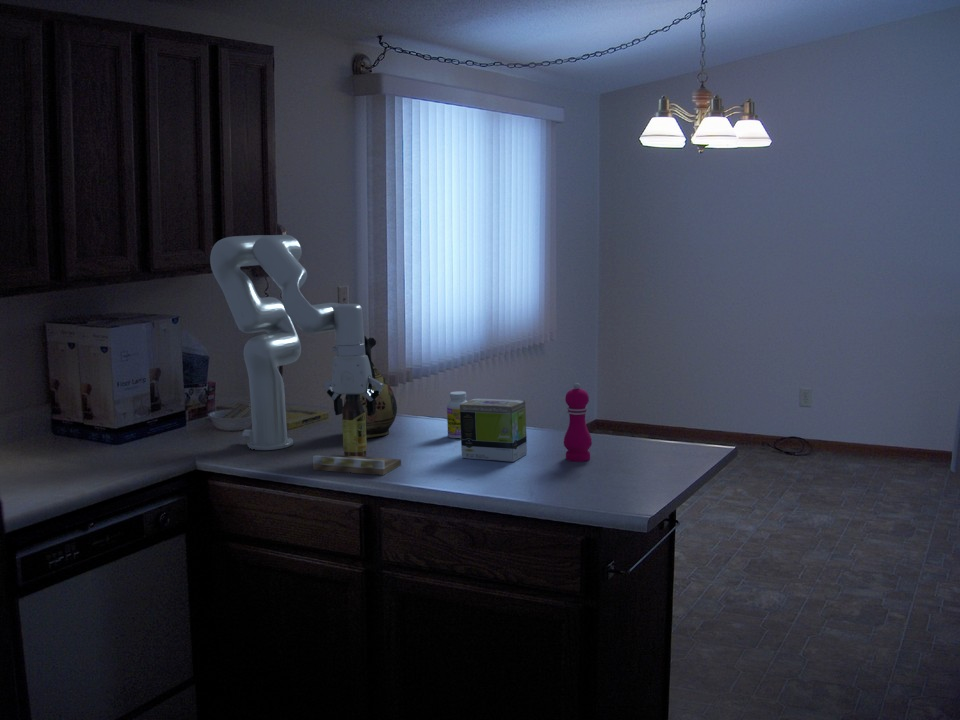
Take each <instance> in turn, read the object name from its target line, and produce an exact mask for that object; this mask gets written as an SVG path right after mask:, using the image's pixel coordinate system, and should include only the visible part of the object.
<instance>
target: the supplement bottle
mask: <svg viewBox="0 0 960 720" xmlns="http://www.w3.org/2000/svg"><path fill="white" fill-rule="evenodd" d="M449 398H450V400H449V401H448V402H447V404H446V420H447V421H446V423H447V424H446V425H447V436H448V437H449V438H451V439H455V438H461V425H460V404H463V403H465V402H468V401H469V400H467V399H466V398H467V392H466V391H463V390H462V391H459V390H458V391H451V392H450V393H449Z"/></svg>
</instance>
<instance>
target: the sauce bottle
mask: <svg viewBox="0 0 960 720" xmlns="http://www.w3.org/2000/svg"><path fill="white" fill-rule="evenodd" d="M345 395H346V402H345V404H344V403H343V408H342V414H341V415H342V418H341V421H342V422H341V424H342V426H341V428H342V429H341V430H342V448H343V450H342V451H343V455H345V456H359V457H367V450H368V447H367V446H368V445H367V438H366V416H365V410H364V408H363V405H362V403H361V400H360V395H353V394H345Z"/></svg>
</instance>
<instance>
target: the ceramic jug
mask: <svg viewBox="0 0 960 720" xmlns="http://www.w3.org/2000/svg"><path fill="white" fill-rule="evenodd" d="M364 341H365V355H367V356H368V359H369V362H370V367H371V373H372V378H374V379H376V380H377V381H379V382H381V383H383V388H382V390H381V393H380V395H379V396H378V397H377V399H375V403H376V412H375V414H374V415H372V416H368V415H367V401H368V399H367V397H366V396H365V395H364V394H360V400H361V403H362V405H363V408H364V410H365V416H366V439H369V438H375V437H382V436H387V435H389V434H390V428H391V427H392V426H393V423H394V422H395V420H396V417H397V413H398V405H397V400H396V398H395V394H394V391H393V389H392V388H391V386H390V384H389V383H388V381H387V380H386V379H385V377H384V376H383V374H382V373H381V372H380V371H379V369H377V367H376V366H375V365H374V363H373V361H372V349H373V348H374V347H375V346H376V344H377V341H376V339H375V338H374V337H369V338H367V337H366V335H364ZM375 390H376V386H374V385H373V389H372V391H373V392H374V391H375ZM345 402H346V394H344V399H343V405H344V404H345Z"/></svg>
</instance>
